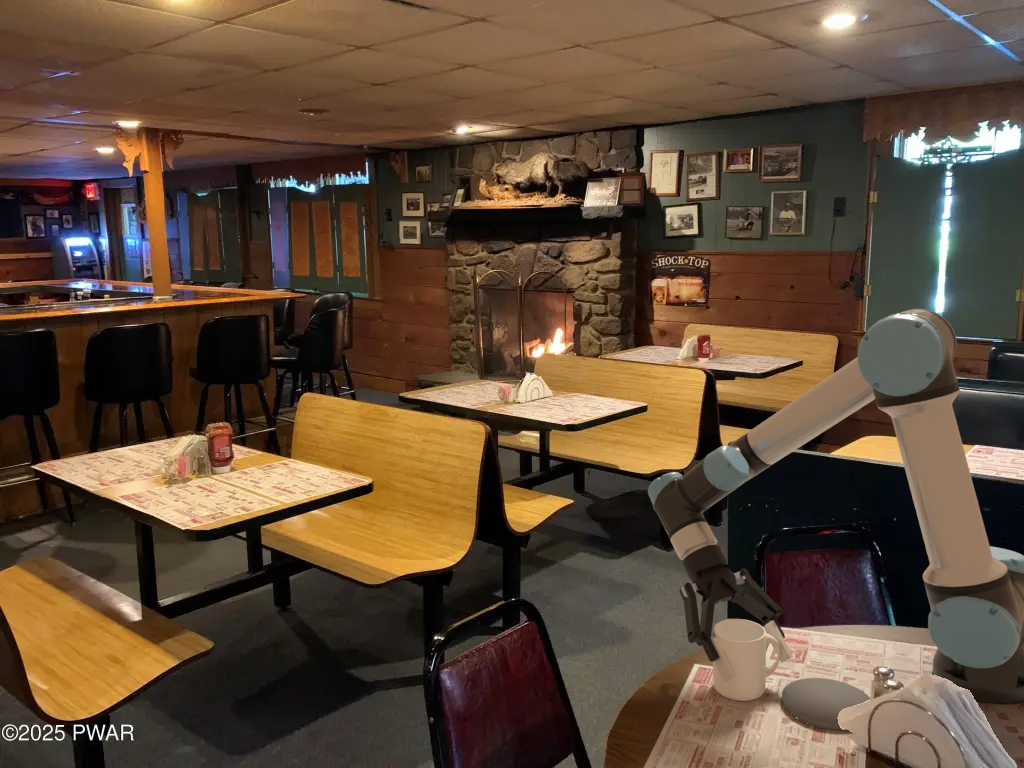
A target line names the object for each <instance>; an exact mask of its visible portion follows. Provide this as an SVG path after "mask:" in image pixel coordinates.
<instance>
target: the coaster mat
mask: <svg viewBox="0 0 1024 768" xmlns="http://www.w3.org/2000/svg"><path fill="white" fill-rule="evenodd" d="M869 699H871V700H872V698H871V697H870V696H869V695H868V694H867V693H865V692H864V691H863V690H861V689H859V688H857V687H856V686H853V685H851V684H849V683H846V682H843V681H840V680H836V679H831V678H821V677H808V678H801V679H800V678H799V679H796V680H794V681H791V682H789V683H788V684H786V686H784V688H783V689H782V692H781V703H783V704H782V706H783V705H784V706H783V708H784V707H785V708H784V709H785V711H786V710H787V711H788V712H789V713H790V714H789V713H788V712H787V711H786V712H787V713H788V714H789V715H791V714H792V715H793V716H794V717H793V716H792V715H791V716H792V717H793V718H795V717H797V718H798V719H799V720H798V719H797V720H798V721H800V720H801V721H800V722H802V721H803V722H802V723H804V722H805V723H804V724H806V723H808V724H807V725H809V724H810V725H809V726H811V725H813V726H812V727H815V726H817V727H816V728H818V727H820V728H819V729H822V728H824V729H823V730H828V729H829V730H831V731H840V732H841V731H842V729H841V728H840V726H839V724H838V719H837V717H838V714H839V712H840V711H841V710H842V709H844V708H847V707H851V706H854V705H857V704H860V703H863V702H865V701H867V700H869ZM829 730H828V731H829ZM842 732H843V731H842Z"/></svg>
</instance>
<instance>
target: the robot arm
mask: <svg viewBox="0 0 1024 768" xmlns="http://www.w3.org/2000/svg"><path fill="white" fill-rule="evenodd" d="M955 333H956V332H955V330H954V328H953V326H952V325H951V323H950V322H949V321H948V320H947V319H946V318H945V317H944V316H942V315H940V314H939V313H937V312H936V311H932V310H930V309H925V308H912V309H911V308H909V309H906V310H903V311H900V312H898V313H892V314H890V315H887V316H885V317H882V318H881V319H879V320H878V321H876V322H875V323H874V324H872V325H871V326H870V327H869V328H868V329H867V331H866V332H865V334H864V335H863V336H862V338H861V340H860V343H859V346H858V347H857V348H858V349H857V357H855V358H854V359H852V360H851V361H849V362H848V363H846V364H845V365H844V366H842V367H841V368H839V369H838V370H837V371H835V372H833V373H832V374H831V375H829V376H828V377H826V378H825V379H823V380H822V381H821V382H819V383H818V384H815V386H813V387H811V388H810V389H809V390H807V391H806V392H805V393H803V394H801V395H800V396H799V397H797V398H795V399H794V400H793V401H792V402H790V403H789V404H787V405H786V406H784V407H783V408H781V409H779V410H778V411H776V413H774V414H773V415H771V416H770V417H768V418H767V419H765V420H764V421H762V422H761V423H760V424H758V425H756V426H755V427H754V428H752V429H750V430H749V431H748V432H746V433H745V434H743V435H742V436H740V437H739V438H737V439H736V440H734V441H732V443H730V444H728V445H721V446H720V447H719V446H718V448H716V449H715V450H713V451H711V452H710V453H708V454H707V455H705V457H704V458H703V459H702V460H701V461H699V462H698V463H697V464H696V465H694V466H693V467H692V468H691V469H690V470H688V471H687V472H685V474H683V475H682V474H681V473H680V472H678V471H672V472H671V471H670V472H667V473H665V474H662V475H661V476H659V477H657V478H655V479H653V481H652V482H651V483H650V484H649V486H648V487H647V495H648V497H649V498H650V502H651V504H652V507H653V510H654V512H655V513H656V514H657V516H658V519H660V521H661V524H662V526H663V528H664V530H665V532H666V533H667V536H668V538H669V540H670V542H671V543H670V544H672V546H673V549H674V550H675V552H676V554H677V555H676V556H677V557H678V559H679V560H681V561H682V564H681V565H682V567H683V569H684V571H685V573H686V575H687V577H688V579H689V580H690V581H691V582H692V583H690V582H685V583H684V585H682V587H681V588H680V589H679V593H680V596H681V598H682V600H683V607H684V615H685V625H686V633H687V634H686V635H687V641H688V643H690V644H693V643H696V645H697V646H699V647H701V646H702V648H703V650H704V652H705V655H706V656H707V659H708V660H709V661H710V662H711V663H713V661H714V663H715V665H716V667H717V669H718V671H719V673H720V675H721V678H722V680H723V682H724V681H727V680H729V679H730V678H731V677H733V676H734V675H735V674H734V672H733V670H732V668H731V666H730V664H729V662H728V660H727V658H726V656H725V654H724V652H723V650H722V648H721V646H720V644H719V642H718V639H717V637H715V638H713V637H712V634H713V623H714V613H715V605H717V604H719V603H723V602H727V601H730V602H732V603H734V604H735V603H736V604H737V605H739V606H740V607H742V609H744V610H745V611H747V612H748V613H750V614H751V615H753V616H754V617H755V618H756V619H758V620H759V621H761V622H762V623H764V624H765V625H764V626H762V627H763V628H764V629H765V631H766V634H769V635H771V636H772V637H774V638H775V639H776V640H777V642H778V643H779V646H780V660H779V662H780V663H781V664H783V663H785V662H787V661H788V660H790V659H791V658H792V657H794V655H793V654H792V651H791V650H790V647H789V646H788V644H787V642H786V640H785V638H786V636H785V632H784V631H783V629H782V628H781V625H780V624H779V622H778V618H779V617H780V616H781V615H782V614H783V613H784V612H783V609H782V608H781V607H780V606H779V605H778V603H777V602H775V601H774V600H773V599H772V597H771V596H770V595H768V593H767V592H766V591H764V589H763V588H762V587H761V586H760V585H759V584H758V583H757V582H756V581H755V580H754V579H753V578H752V576H751V574H750V573H749V571H748V569H746V568H741V569H740V570H739V571H737V572H733V571H731V569H730V568H729V563H728V560H727V557H726V556H725V554H724V552H723V550H722V548H721V546H720V545H718V540H717V538H716V536H715V534H714V533H713V531H712V528H711V527H710V525H709V524H708V522H707V519H706V518H705V515H704V512H705V511H707V510H708V509H710V508H711V507H712V506H713V505H715V504H716V503H718V502H719V501H721V500H722V499H723V498H725V497H726V496H728V495H730V493H732V492H734V491H736V490H737V489H738V488H739V487H741V486H742V485H743V484H745V483H746V482H748V481H749V480H751V479H753V478H755V477H756V476H758V475H759V474H760V473H762V472H764V471H765V470H766V469H768V468H770V467H771V466H772V465H774V464H775V463H777V462H779V461H780V460H782V459H783V458H784V457H786V456H788V455H790V454H791V453H793V452H794V451H796V450H797V449H799V448H801V447H803V445H806V444H807V443H808V442H810V441H812V440H813V439H815V438H816V437H818V436H819V435H821V434H822V433H824V432H826V431H827V430H829V429H831V428H832V427H833V426H835V425H836V424H838V423H840V422H842V420H844V419H846V418H848V417H849V416H850V415H852V414H854V413H856V412H857V411H859V410H860V409H862V408H863V407H864V406H865V407H866V405H868V404H869V403H872V401H874V400H875V402H876V407H877V409H879V410H880V411H882V412H883V413H886V414H887V415H889V416H890V418H891V421H892V425H893V429H894V433H895V437H896V441H897V444H898V448H899V452H900V456H901V459H902V462H903V463H902V464H903V466H904V471H905V475H906V478H907V481H908V482H907V483H908V486H909V490H910V495H911V497H912V502H913V504H914V508H915V511H916V516H917V519H918V523H919V527H920V531H921V534H922V539H923V542H924V545H925V551H926V554H927V556H928V561H929V565H928V567H927V568H926V569H925V570H924V572H923V574H922V579H923V583H924V588H925V591H926V595H927V599H928V602H929V603H928V604H929V606H930V612H929V613H928V618H927V621H928V623H927V628H928V632H929V635H930V639H931V640H932V642H933V644H934V645H935V647H936V648H937V649H936V651H935V653H934V655H933V659H932V674H935V675H937V676H940V677H942V678H946V679H948V680H950V681H952V682H953V683H954V684H956V685H957V686H959V687H962V688H965V689H968V690H970V692H971V693H972V695H973V696H974V698H975V699H974V700H977V701H982V702H987V703H994V704H995V703H996V704H1017V703H1023V702H1024V555H1023V554H1021V553H1019V552H1017V551H1014V550H1010V549H1006V548H1001V547H996V546H991V545H990V542H989V539H988V535H987V532H986V528H985V527H986V526H985V524H984V520H983V516H982V513H981V510H980V509H981V508H980V505H979V500H978V497H977V494H976V490H975V487H974V483H973V480H972V479H973V477H972V475H971V472H970V468H969V464H968V460H967V455H966V453H965V449H964V448H965V447H964V445H963V441H962V437H961V434H960V431H959V425H958V421H957V418H956V415H955V411H954V407H953V403H954V401H955V400H956V398H957V397H958V395H959V394H960V392H961V389H960V386H959V383H958V378H957V374H956V371H955V367H954V363H953V360H954V358H955V354H956V352H957V345H958V343H957V336H956V334H955ZM697 594H698V595H699V596H700V597H701V603H700V607H701V613H700V618H699V610H698V609H699V608H698V603H697V602H698V601H697ZM771 646H772V649H773V650H774V653H776V656H778V652H777V649H776V647H775V646H774V645H773V644H771Z"/></svg>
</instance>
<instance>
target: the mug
mask: <svg viewBox="0 0 1024 768" xmlns="http://www.w3.org/2000/svg"><path fill="white" fill-rule="evenodd" d="M715 637H717V639H718V642H719V644H720V646H721V648H722V650H723V652H724V654H725V656H726V658H727V660H728V662H729V664H730V666H731V668H732V670H733V672H734V674H735V675H734V676H733V677H731V678H730V679H729V680H727V681H724V682H723V680H722V678H721V675H720V673H719V671H718V669H717V667H716V665H715V663H714V661H713V662H712V683H713V686H714V687H713V688H714V689H715V690H716V691H717V693H719V695H721V696H722V697H725V698H727V699H729V700H732V701H738V702H749V701H754V699H755V700H757V699H759V698H761V696H763V694H764V693H765V690H766V683H767V681H766V680H767V679H766V678H768V677H771V676H772V675H773V674H774V673H775V671H776V670H777V668H778V667H779V664H780V646H779V643H778V642H777V640H776V639H775V638H774V637H772V636H771V635H769V634H766V631H765V629H764V628H763V626H762V625H761V624H760V623H757V622H755V621H752V620H748V619H744V618H743V619H742V618H727V619H722V620H718V621H717V622H716V623H715V624H714V625H712V638H715ZM767 644H770V645H772V644H773V645H774V646H775V647H776V649H777V652H778V656H777V655H776V656H777V657H776V660H775V661H774V662H773V664H771V665H770V666H766V665H767V661H766V660H767V651H766V649H767Z"/></svg>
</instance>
